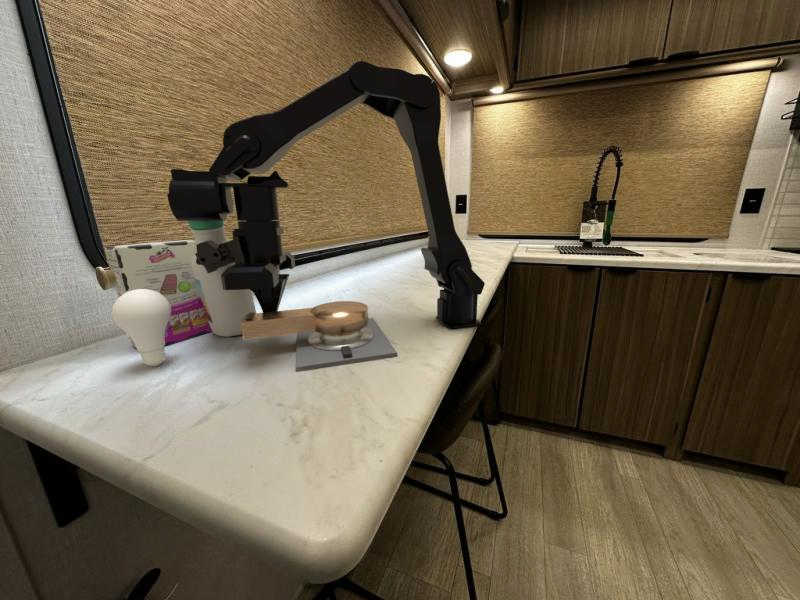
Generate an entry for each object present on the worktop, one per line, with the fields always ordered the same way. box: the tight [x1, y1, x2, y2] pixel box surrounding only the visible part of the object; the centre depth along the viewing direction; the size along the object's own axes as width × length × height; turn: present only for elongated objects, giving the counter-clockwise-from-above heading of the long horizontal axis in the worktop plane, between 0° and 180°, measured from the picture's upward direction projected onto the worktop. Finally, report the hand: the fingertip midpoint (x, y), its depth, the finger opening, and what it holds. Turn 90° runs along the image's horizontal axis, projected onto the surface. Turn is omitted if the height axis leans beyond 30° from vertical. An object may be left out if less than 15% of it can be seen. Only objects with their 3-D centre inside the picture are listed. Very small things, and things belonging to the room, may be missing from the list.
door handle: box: [241, 300, 369, 340], centre depth 49 cm, size 18×9×3 cm, turn 107°
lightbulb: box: [111, 289, 171, 367], centre depth 43 cm, size 6×6×11 cm
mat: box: [295, 317, 398, 372], centre depth 51 cm, size 14×17×1 cm
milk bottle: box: [187, 221, 257, 338], centre depth 52 cm, size 8×8×20 cm
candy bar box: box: [103, 239, 212, 348], centre depth 52 cm, size 11×5×16 cm, turn 148°
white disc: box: [308, 327, 373, 351], centre depth 51 cm, size 10×10×2 cm
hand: (271, 320), depth 50 cm, fingers closed
